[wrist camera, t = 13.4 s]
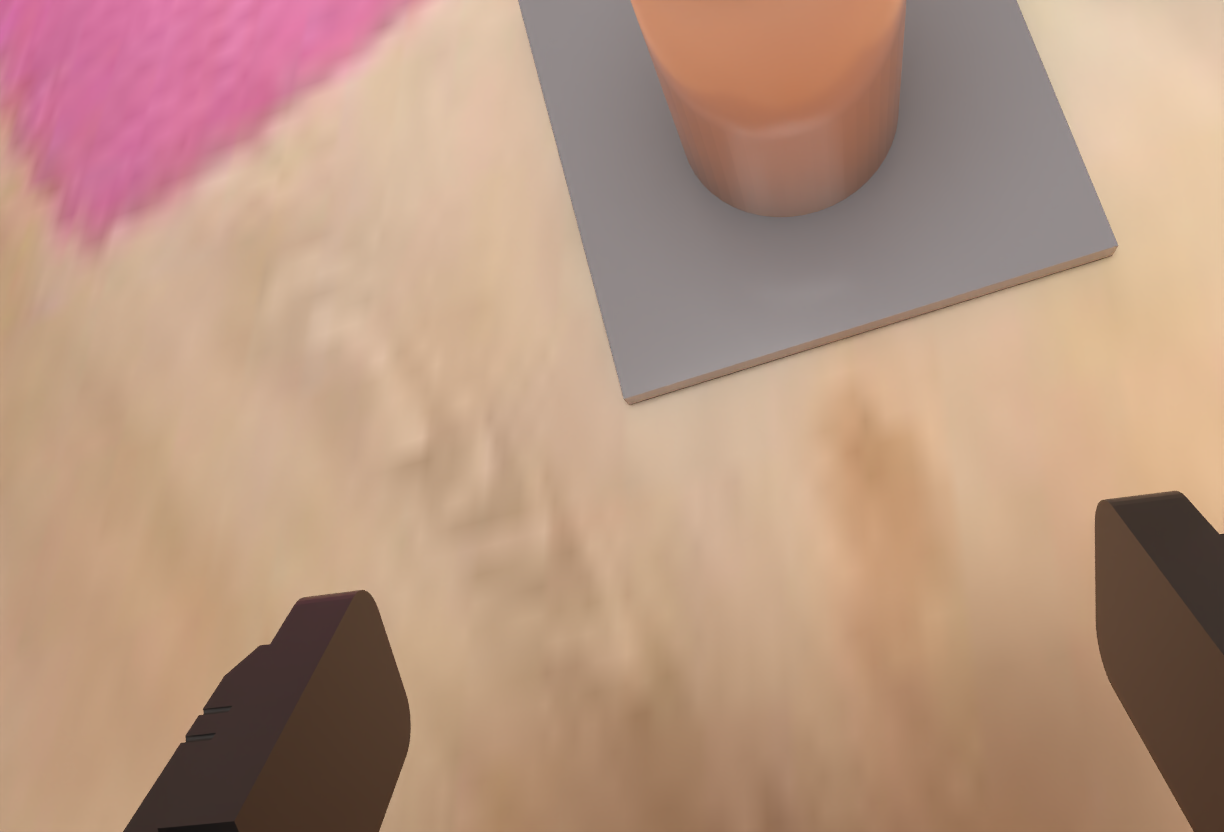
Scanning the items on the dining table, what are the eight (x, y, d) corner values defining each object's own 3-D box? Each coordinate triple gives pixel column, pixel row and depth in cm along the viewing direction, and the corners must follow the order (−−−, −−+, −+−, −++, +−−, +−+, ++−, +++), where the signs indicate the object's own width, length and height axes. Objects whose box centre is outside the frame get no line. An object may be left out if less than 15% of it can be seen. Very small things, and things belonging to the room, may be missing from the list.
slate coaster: (629, 404, 24) (623, 399, 24) (524, 11, 27) (517, -3, 27) (1111, 255, 23) (1117, 245, 22) (944, -149, 26) (946, -167, 25)
